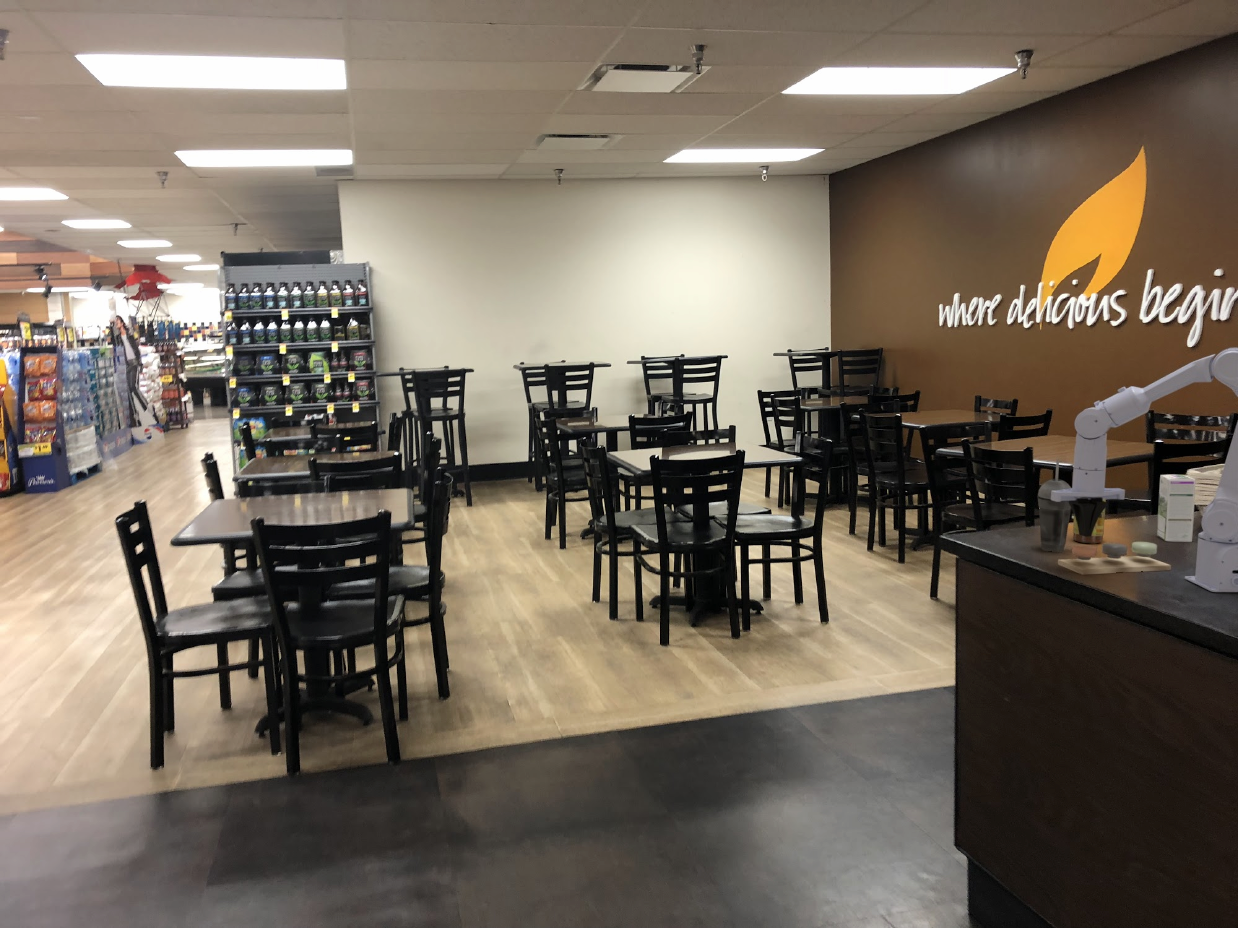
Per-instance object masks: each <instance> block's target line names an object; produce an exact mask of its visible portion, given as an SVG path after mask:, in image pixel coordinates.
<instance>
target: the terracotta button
mask: <svg viewBox="0 0 1238 928" xmlns="http://www.w3.org/2000/svg"><path fill="white" fill-rule="evenodd" d="M1071 551H1072V552H1071V554H1072V555H1073V556H1076V557H1077V559H1081V560H1090V559H1091V558H1097V554H1098V547H1097V546H1094V545H1091V544H1085V543H1082V544H1073V545H1072V550H1071Z"/></svg>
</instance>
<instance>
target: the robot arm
mask: <svg viewBox="0 0 1238 928" xmlns="http://www.w3.org/2000/svg"><path fill="white" fill-rule="evenodd" d="M1214 377H1215V379H1216V380H1217V381H1218V382H1220V383H1221V384H1223V385H1224V386H1226V387H1228V388H1229V389H1231V390H1232V392H1233V393H1234V394H1235V396H1236V397H1237V398H1238V347H1229V348H1225V349H1223V350H1221V351H1220V352H1219V353H1218V354H1217V355H1216V353H1214V354H1211V355H1208V356H1205V357H1202V358H1200V359H1197V360H1194V361H1192V362H1189V363H1188V364H1186V365H1184V366H1182V367H1180V368H1178V369H1176V370H1175V371H1173V372H1171V373H1169V374H1167V375H1165V376H1164V377H1162V378H1159V379H1158V380H1156V381H1154V382H1153V383H1150V384H1148V385H1146V386H1145V387H1138V386H1132V385H1131V386H1129V387H1127V388H1126V386H1123V387H1121V388H1119V389H1117V392H1118V393H1115V394H1113V395H1112V396H1110V397H1108V398H1106V399H1104V400H1102V401H1101V400H1097V401H1095V402H1093V405H1094V407H1089V408H1085V409H1083V411H1081V412H1080V413H1078V414H1077V416H1076V417H1075V420H1074V429H1075V430H1076V432H1077V433H1076V435H1075V444H1074V454H1073V473H1072V487H1071V489H1064V490H1054V491H1051V500H1053V501H1056V502H1061V501H1069V505H1070V506H1071V510H1072V512H1073V516H1074V515H1075V518H1076V521H1077V525H1078V530H1079V535H1082V536H1085V537H1088V536H1091V535H1092V532H1093V529H1094V527H1095V524H1096V522H1097V520H1098V518H1099V516H1100V514H1101V513H1102V512H1103V510H1104V509H1105V510H1106V508H1107V501H1106V502H1104V501H1103V499H1106V500H1125V494H1126V489H1122V488H1119V487H1115V488H1114V487H1113V488H1111V487H1110V488H1108V487H1107V488H1105V487H1106V474H1107V473H1106V471H1107V456H1108V446H1107V437H1108V431H1109V430H1110V429H1111V428H1118V427H1120V426H1123V425H1125V424H1126V423H1129V422H1131V421H1133V420H1134V419H1137V418H1139V417H1141V416H1142V415H1145V414H1147V413H1148V412H1149V410H1150V407H1151V405H1152V402H1155V401H1157V400H1158V399H1161V398H1164V397H1165V396H1167V395H1169V394H1172V393H1174V392H1176V391H1178V390H1180V389H1182V388H1185V387H1187V386H1189V385H1191V384H1194V383H1212V382H1213V381H1214ZM1230 442H1231V443H1230V446H1229V448H1228V452H1227V456H1226V459H1225V462H1224V465H1223V468H1222V469H1223V470H1222V472H1221V475H1220V479H1219V481H1218V484H1217V485H1218V486H1217V489H1216V491H1215V496H1214V497H1213V500H1211V502H1210V503H1208V504H1207V506H1206V507H1205V509H1204V511H1203V516H1202V517H1201V527H1202V530H1203V531H1201V532H1199V533H1198V538H1197V550H1196V551H1197V553H1196V564H1195V575H1190V576H1189V575H1187V576H1184V579H1185V580H1187V581H1189V582H1191V583H1193V584H1196V585H1198V586H1200V587H1202V588H1203V589H1205V590H1208V591H1210V592H1212V593H1238V421H1237V422H1236V425H1235V428H1234V432H1233V436H1232V439H1231V441H1230Z"/></svg>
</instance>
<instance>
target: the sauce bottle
mask: <svg viewBox="0 0 1238 928" xmlns="http://www.w3.org/2000/svg"><path fill="white" fill-rule="evenodd" d="M1105 488H1106V486H1105ZM1106 500H1107V499H1103V501H1104V502H1107V501H1106ZM1105 517H1106V508H1105V509H1104V510H1103V512H1102V513H1101V514H1100V516H1099V518H1098V520H1097V522H1096V524H1095V527H1094V529H1093V532H1092V535H1091V536H1088V537H1085V536H1082V535H1079V530H1078V525H1077V521H1076V518H1075V515H1074V514H1073V525H1072V533H1073V536H1072V538H1073V540H1074V541H1075V542H1078V543H1082V544H1099V543H1102V542H1103V539H1104V538H1103V537H1104V534H1105Z"/></svg>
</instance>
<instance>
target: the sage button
mask: <svg viewBox="0 0 1238 928" xmlns="http://www.w3.org/2000/svg"><path fill="white" fill-rule="evenodd" d="M1157 550H1158V545H1157V544H1156V543H1154V542H1148V541H1134V542H1131V552H1132V553H1136V556H1140V557H1149V558H1151V555H1156V554H1157V552H1158V551H1157Z"/></svg>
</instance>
